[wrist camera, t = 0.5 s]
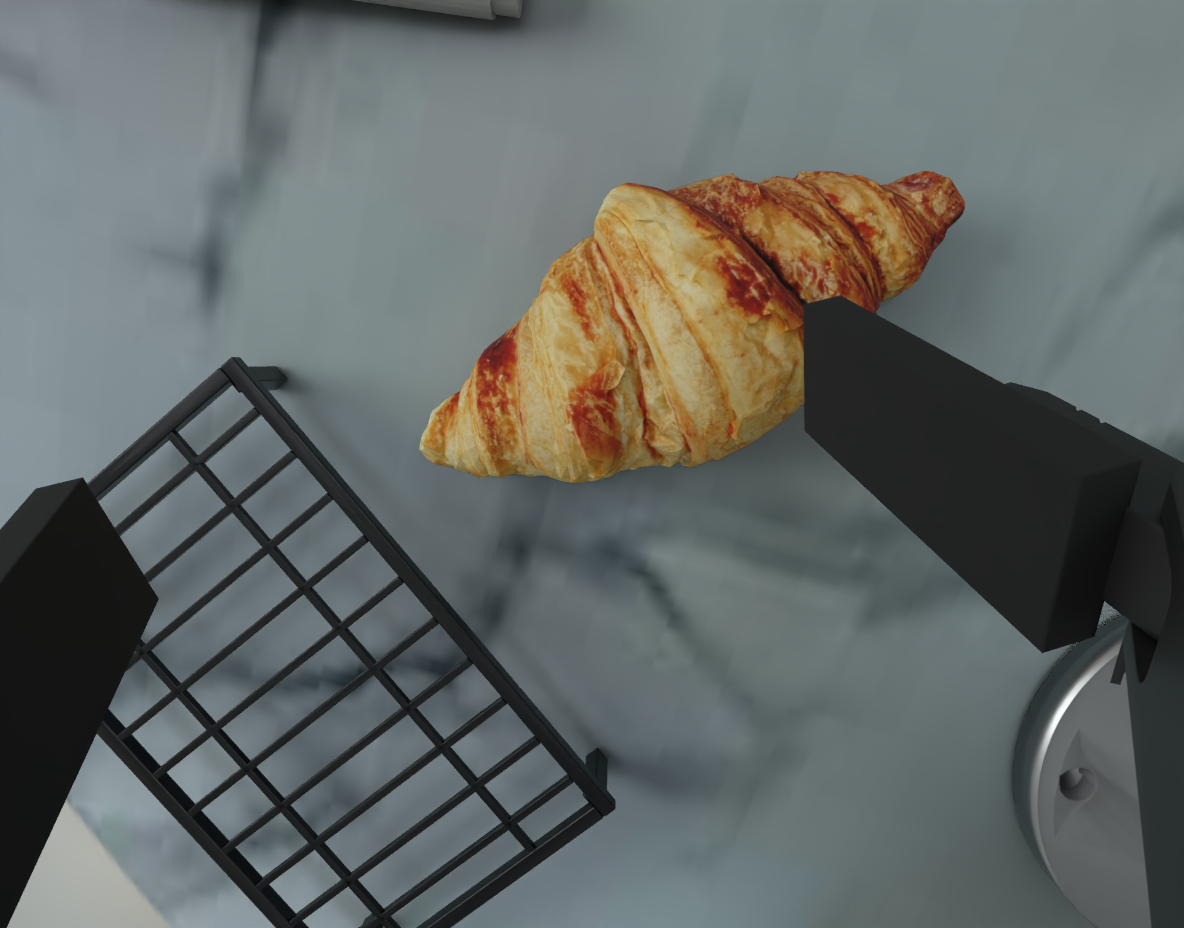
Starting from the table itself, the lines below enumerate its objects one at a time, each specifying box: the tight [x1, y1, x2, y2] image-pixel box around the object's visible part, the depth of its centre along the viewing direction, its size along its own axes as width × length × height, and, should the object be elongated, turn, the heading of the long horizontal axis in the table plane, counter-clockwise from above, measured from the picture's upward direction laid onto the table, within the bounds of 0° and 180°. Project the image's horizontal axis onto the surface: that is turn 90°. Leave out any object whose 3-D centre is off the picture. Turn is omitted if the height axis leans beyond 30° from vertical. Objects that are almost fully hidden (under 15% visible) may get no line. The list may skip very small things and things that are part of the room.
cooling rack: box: [87, 357, 616, 928], centre depth 29 cm, size 22×14×4 cm, turn 39°
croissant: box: [419, 171, 965, 483], centre depth 26 cm, size 21×10×8 cm, turn 117°
